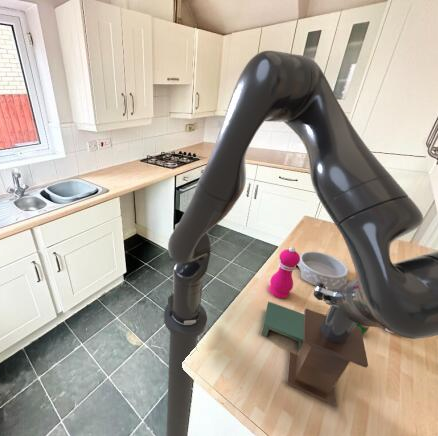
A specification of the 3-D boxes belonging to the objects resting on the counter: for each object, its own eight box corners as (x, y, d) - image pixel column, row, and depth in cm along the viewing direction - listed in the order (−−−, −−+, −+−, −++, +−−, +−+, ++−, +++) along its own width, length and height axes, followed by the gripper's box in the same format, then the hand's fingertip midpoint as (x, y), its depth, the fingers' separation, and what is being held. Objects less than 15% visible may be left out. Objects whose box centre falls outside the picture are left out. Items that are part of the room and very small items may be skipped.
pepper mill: (264, 291, 89) (276, 247, 80) (272, 282, 94) (285, 239, 84) (284, 303, 85) (300, 257, 75) (292, 292, 89) (308, 247, 79)
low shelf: (260, 335, 74) (263, 324, 72) (264, 311, 81) (268, 301, 79) (305, 354, 68) (310, 342, 66) (306, 327, 76) (310, 316, 74)
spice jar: (319, 337, 53) (337, 301, 48) (319, 320, 57) (335, 285, 52) (348, 348, 51) (370, 312, 46) (346, 329, 55) (366, 294, 50)
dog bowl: (329, 260, 105) (333, 250, 102) (356, 291, 89) (362, 280, 86) (287, 258, 106) (290, 248, 104) (307, 288, 90) (312, 278, 88)
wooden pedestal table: (284, 384, 62) (304, 339, 53) (287, 352, 69) (305, 308, 60) (336, 410, 56) (368, 365, 48) (333, 372, 64) (360, 327, 55)
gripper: (443, 298, 35) (393, 303, 49) (324, 262, 42) (311, 276, 56) (432, 350, 34) (384, 340, 48) (312, 303, 41) (301, 307, 55)
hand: (345, 305), depth 52 cm, fingers closed on spice jar, 5 cm apart
